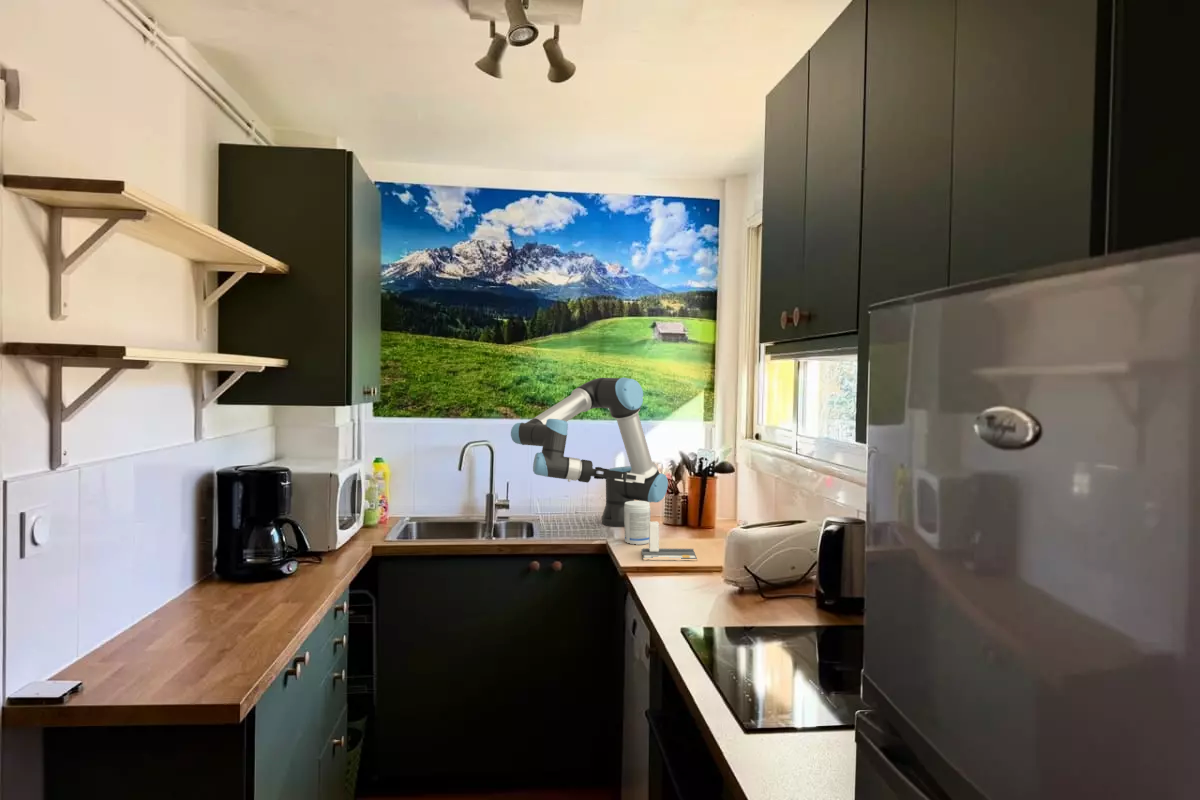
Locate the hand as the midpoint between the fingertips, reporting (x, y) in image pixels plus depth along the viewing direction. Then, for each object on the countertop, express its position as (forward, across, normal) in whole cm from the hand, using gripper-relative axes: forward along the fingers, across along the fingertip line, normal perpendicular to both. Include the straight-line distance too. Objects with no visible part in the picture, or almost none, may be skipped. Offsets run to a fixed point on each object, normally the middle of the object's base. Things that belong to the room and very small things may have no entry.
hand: (638, 479), depth 251 cm
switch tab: (+9, +1, -25) cm, 27 cm away
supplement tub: (+8, -19, -22) cm, 30 cm away
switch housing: (+14, +2, -24) cm, 28 cm away
